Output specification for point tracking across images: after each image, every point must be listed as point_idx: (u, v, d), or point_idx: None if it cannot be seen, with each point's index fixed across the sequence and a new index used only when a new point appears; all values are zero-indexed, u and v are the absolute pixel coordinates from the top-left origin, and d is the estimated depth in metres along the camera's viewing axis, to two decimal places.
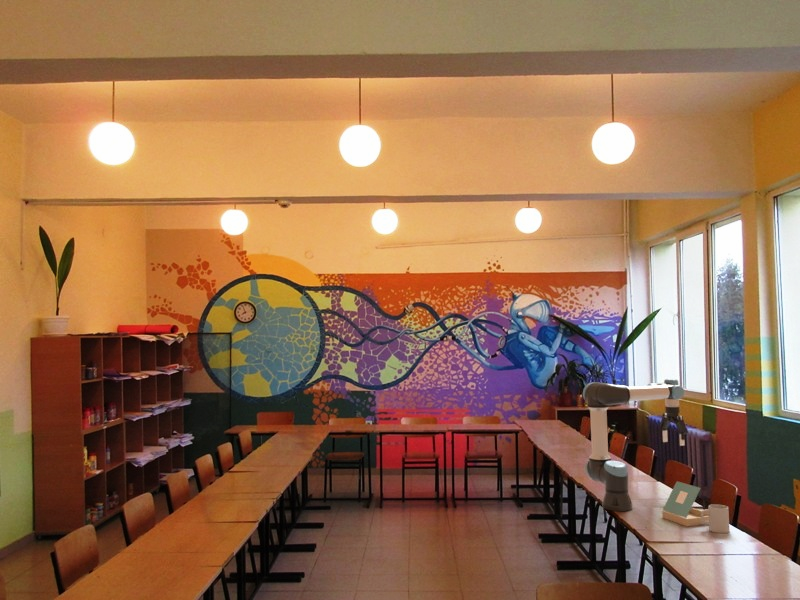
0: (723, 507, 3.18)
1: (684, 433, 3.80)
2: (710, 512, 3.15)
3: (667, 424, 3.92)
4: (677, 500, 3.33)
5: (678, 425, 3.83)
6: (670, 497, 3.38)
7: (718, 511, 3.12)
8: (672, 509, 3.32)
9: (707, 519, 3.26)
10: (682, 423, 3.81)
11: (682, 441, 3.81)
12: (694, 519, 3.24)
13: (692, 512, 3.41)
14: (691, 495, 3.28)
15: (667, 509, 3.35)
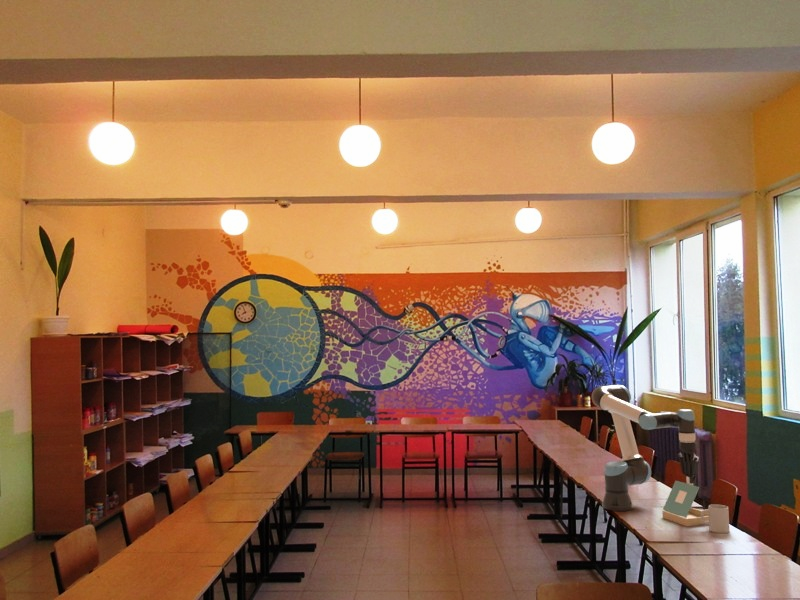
0: (723, 507, 3.18)
1: (693, 476, 3.32)
2: (710, 512, 3.15)
3: (687, 465, 3.35)
4: (676, 500, 3.33)
5: (690, 466, 3.32)
6: (669, 497, 3.38)
7: (718, 511, 3.12)
8: (672, 509, 3.32)
9: (707, 519, 3.26)
10: (695, 466, 3.30)
11: None
12: (694, 519, 3.24)
13: (692, 512, 3.41)
14: (690, 494, 3.28)
15: (667, 509, 3.35)
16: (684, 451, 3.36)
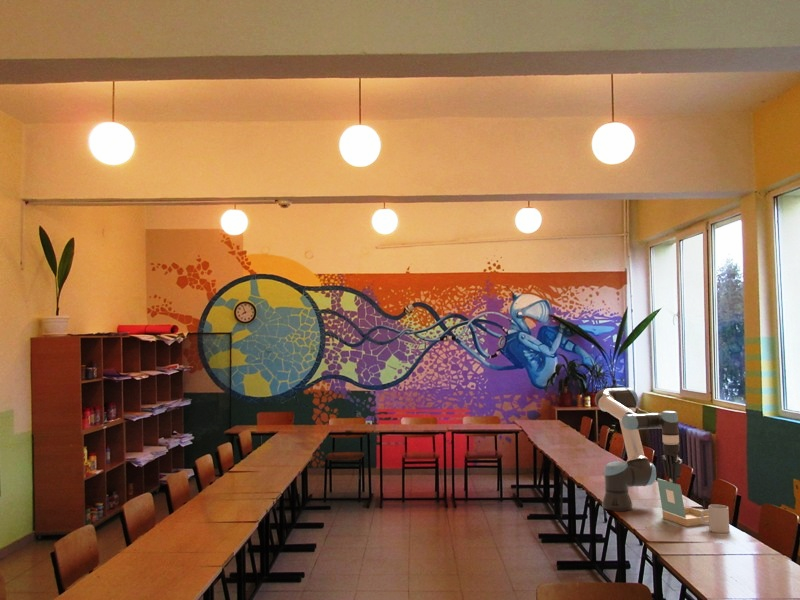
0: (723, 507, 3.17)
1: (676, 478, 3.29)
2: (710, 512, 3.15)
3: (670, 467, 3.32)
4: (668, 499, 3.32)
5: (673, 468, 3.29)
6: (661, 496, 3.36)
7: (718, 511, 3.12)
8: (670, 509, 3.32)
9: (707, 519, 3.26)
10: (678, 468, 3.27)
11: None
12: (694, 519, 3.24)
13: (692, 512, 3.41)
14: (677, 493, 3.25)
15: (666, 510, 3.35)
16: (667, 453, 3.32)
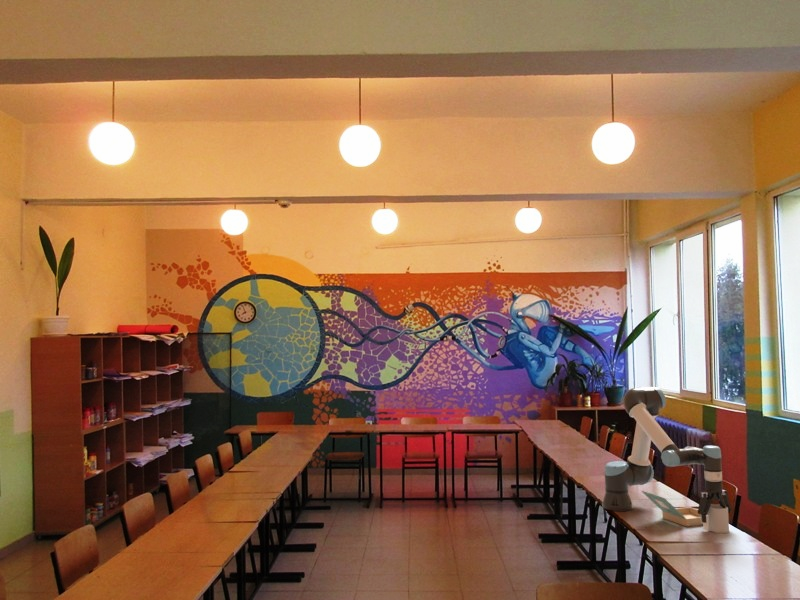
0: None
1: (701, 514, 3.13)
2: (710, 512, 3.15)
3: (720, 503, 3.17)
4: (662, 506, 3.30)
5: None
6: (654, 503, 3.35)
7: (718, 511, 3.12)
8: (668, 511, 3.32)
9: None
10: (701, 502, 3.14)
11: (705, 524, 3.14)
12: (694, 519, 3.24)
13: (692, 512, 3.41)
14: (666, 503, 3.23)
15: (665, 511, 3.35)
16: None
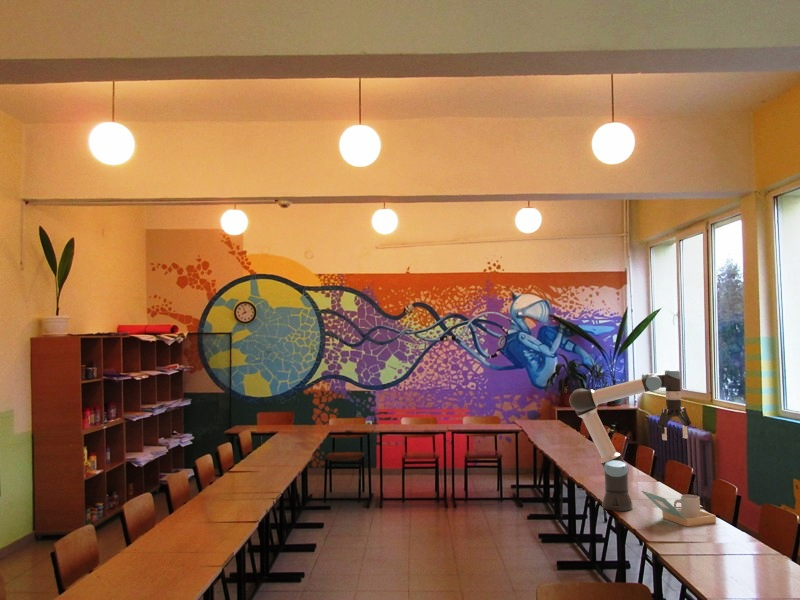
0: (695, 497, 3.35)
1: None
2: (682, 502, 3.32)
3: (680, 418, 3.65)
4: (662, 506, 3.30)
5: None
6: (654, 503, 3.35)
7: (689, 500, 3.29)
8: (668, 511, 3.32)
9: (707, 519, 3.26)
10: (661, 416, 3.61)
11: (663, 435, 3.61)
12: (694, 519, 3.24)
13: None
14: (666, 503, 3.23)
15: (665, 511, 3.35)
16: None
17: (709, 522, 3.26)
